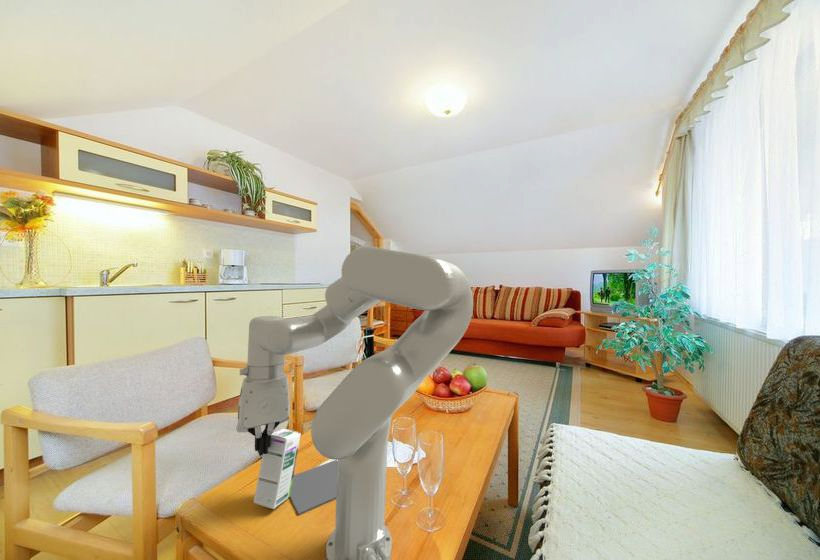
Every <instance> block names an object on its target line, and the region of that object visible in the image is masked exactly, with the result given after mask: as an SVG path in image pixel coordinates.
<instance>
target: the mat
mask: <svg viewBox="0 0 820 560" xmlns="http://www.w3.org/2000/svg"><path fill="white" fill-rule="evenodd" d="M337 468H338V460H332V461H330V462H326V463H324V464H321V465H319V466H316V467H312V468H309V469H307V470H304V471H302V472H298V473H296V474H294V476H293V482H292V488H291V493H290V497H289V499H290V501H291V503H292V505H293V506H294V509H295V512H296V513H297V515H298V516H301V515H303V514H305V513H308V512H309V511H312V510H314V509H316V508H319V507H321V506H323V505H326V504H327V503H329V502H332V501H334V500H336V492H337Z"/></svg>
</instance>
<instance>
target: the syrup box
mask: <svg viewBox="0 0 820 560" xmlns="http://www.w3.org/2000/svg"><path fill="white" fill-rule="evenodd" d="M301 435H302V434H301V432H299V431H296V430H292V429H287V428H281V429H280V430H276V431H275V432H274V431H273V434H272V435H271V446H270V447H269V448H268V454H263V455H261V457H262V458H261V462H260V467H259V471H258V476H257V483H256V486H255V487H256V488H255V493H254V498H253V503H254V504H256V505H260V506H262V507H265V508H268V509H272V510H275V509H276V508H277V507H278V506H279V505H281V504H282V503H284V502H285V501H286V500H288V499H290V493H291V488H292V482H293V476H294V475H295V470H296V464H297V458H298V453H299V447H300V440H301Z"/></svg>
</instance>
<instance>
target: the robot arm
mask: <svg viewBox="0 0 820 560" xmlns="http://www.w3.org/2000/svg"><path fill="white" fill-rule="evenodd" d="M472 291H473V290H472V287H471V284H470V282H469V280H468V278H467V276H466V274H465V273H464V272H463V271H462V269H460V268H459V267H458V266H457V265H455V264H453V263H451V262H449V261H445V260H443V259H440V258H436V257H434V256H428V255H423V254H419V253H418V254H416V253H411V252H406V251H404V252H403V251H398V250H392V249H388V248H381V247H377V246H372V245H363V246H360V247H357V248H355V249H353V250H352V251H351V252H350V253H348V254H347V255H346V257H345V259H344V261H343V262H342V265H341V277H339V278H338V279H336V280H335V281H333V282H332V283H330V285H328V286H327V288H326V289H325V293H324V297H325V302H326V305H325V306H323V307H322V308H321V309H319V310H317V311H316V312H314V313H313V314H310V315H307V316H306V315H305V316H298V317H297V316H296V317H291V318H290V317H289V318H283V317H281V316H273V315H266V316H265V315H264V316H256V317H253V318H251V320H250V322H249V326H248V339H247V340H248V341H247V342H248V344H247V364H246V366H245V367H243V368H240V369H239V376H245V377H244V378H243V381H242V383H241V384H242V385H241V388H240V394H239V399H238V400H239V401H238V407H237V408H238V409H237V420H238V422H237V425H236V429H235V430H236V431H237V433H249V434H251V435H252V436H254V451H255V452H257V453H258V455H259V457H262V456H263V454H268V448H269V447H270V446H271V435H272V434H273V433H274V431H275V429H277V427H278V426H279V425H280V424H283V423H284V422H285V423H286V421H288V420H289V419H290V417H289V416H290V413H291V412H290V411H291V405H290V404H291V402H290V401H291V398H290V386H289V384H290V383H289V379H288V374H286V373H285V372H284V369H285V367H284V366H285V356H286V355H291V354H294V353H298V352H300V351H305V350H309V349H313V348H315V347H318V346H321V345H323V344H324V343H326V342H328V341H329V340H331V339H333V338H334V337H336V336H337V335H339V334H341V332H343V331H344V330H345V329H346V328H347V327H348V326H349V325H350V324H351V323H352V321H353V320H354V319H356V318H357V317H359V316H360V315H362V314H364V313H365V312H367V311H368V310H369V309H371V308H373V307H374V306H376V305H377V304H379V303H380V302H384V303H390V304H394V305H396V306H403V307H405V308H411V309H415V310H419V311H423V312H422V313H421V315H420V316H419V317H417V318H416V320H414V321H413V322H412V323H411V324H410V325H409V326H408V327H407V329H406V330H405V332H404V333H403V334H402V335H401V336H400V337H399V338H398V339H397V340H396V341H395V342H394V343H393V344H391V345H390V346H389V347H388V348H386V349H384V350H382V351H380V352H378V353H376V354H373V355H371V356H370V357H369V356H368V357H367V358H365V359H363V360H362V361H361V362H359V364H357V365H356V366H355V367H354V368H353V369H352V370H351V371H350V372H349V373H348V374H347V375H346V376H345V377H344V378H343V380H342V381H341V382H340V383H339V384H338V385H337V386H336V388H335V389H333V391H332V392H331V393H330V394H329V395H328V396H327V398H326V399H325V400H324V401H323V402H322V403H321V405H320V406H319V407H318V408H317V410H316V412H315V414H314V415H313V418H312V421H311V428H310V429H311V431H310V434H311V440H312V444H313V445H314V448H315V450H316V451H317V452H318V453H319V454H320V455H321V456H323V457H324V458H326V459H329V460H332V461H335V460H337V461H338V468H337V492H336V499H335V502H336V503H335V524H334V525H335V526H334V529H333V531H332V532H331V534H329V537H328V539H327V541H326V546H325V556H326V560H392V556H391V554H392V553H391V552H392V549H393V548H392V545H393V539H392V534H391V531H390V530H389V528H388V526H387V525H385V521H386V520H385V519H386V493H387V491H386V489H387V468H388V467H387V465H388V462H387V461H388V447H389V446H388V445H389V438H390V437H389V435H390V430H391V425H392V424H391V423H392V418H393V415H394V414H395V413H396V412H397V411H398V410H399V409H400V408H401V407H402V406H403V405H404V404H405V403H406V402H407V401H408V400H409V399H411V397H412V396H413V395H414V394H415V393H416V391H417V390H418V388H419V387H420V385H421V384H422V383H423V382H424V381H425V380H426V379H427V377H428V376H430V374H431V373H432V372H433V371H434V370H435V369H436V368H437V367H438V366H439V365H440V364H441V363H442V361H443V360H444V359H445V358H446V357H447V356H448V354H450V353H451V351H452V350H453V349H454V348H455V347H456V346H457V345H458V343H459V342H460V341H461V340H462V338H463V337H464V335H465V334H466V331H467V330H468V328H469V326H470V322H471V320H472V316H473V311H474V297H473V292H472ZM262 426H264V429H263V430H262Z"/></svg>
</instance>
